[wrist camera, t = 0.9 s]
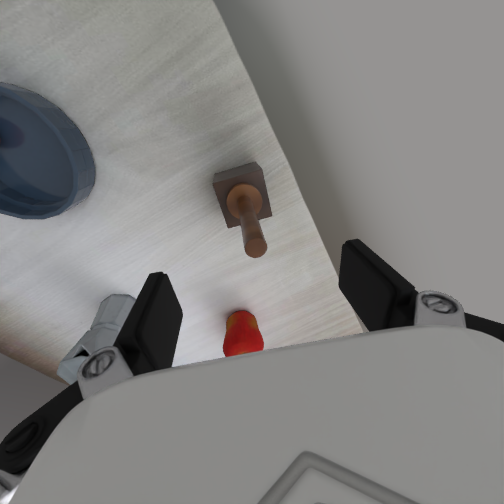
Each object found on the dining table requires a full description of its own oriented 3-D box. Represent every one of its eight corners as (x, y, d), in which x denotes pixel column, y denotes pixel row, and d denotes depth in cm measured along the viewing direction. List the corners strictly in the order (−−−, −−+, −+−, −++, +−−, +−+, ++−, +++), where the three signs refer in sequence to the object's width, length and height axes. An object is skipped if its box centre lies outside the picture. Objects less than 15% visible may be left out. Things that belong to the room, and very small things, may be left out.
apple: (224, 330, 54) (224, 377, 44) (222, 306, 50) (221, 352, 40) (258, 327, 55) (265, 373, 45) (258, 303, 51) (267, 347, 41)
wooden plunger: (221, 188, 30) (219, 231, 18) (256, 178, 30) (278, 214, 18) (232, 221, 32) (236, 277, 20) (264, 211, 32) (288, 263, 20)
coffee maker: (95, 284, 44) (24, 372, 28) (141, 287, 45) (98, 371, 30) (107, 334, 51) (56, 425, 35) (147, 335, 52) (115, 423, 37)
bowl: (-74, 105, 27) (-129, 101, 23) (44, 67, 27) (10, 55, 23) (26, 219, 36) (-1, 232, 32) (118, 192, 35) (103, 201, 31)
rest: (214, 173, 35) (212, 183, 29) (255, 161, 35) (262, 169, 29) (227, 212, 39) (228, 228, 33) (265, 202, 39) (272, 216, 33)
